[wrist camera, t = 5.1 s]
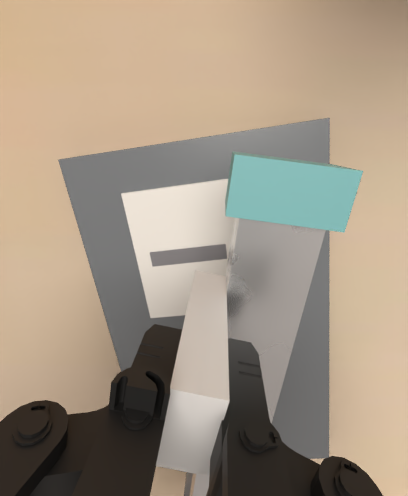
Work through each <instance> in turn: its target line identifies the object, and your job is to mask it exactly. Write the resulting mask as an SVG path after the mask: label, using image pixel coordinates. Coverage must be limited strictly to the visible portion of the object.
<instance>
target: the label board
mask: <svg viewBox="0 0 408 496" xmlns="http://www.w3.org/2000/svg"><path fill="white" fill-rule="evenodd" d="M329 142H330V118H325V119H319V120H312V121H306V122H299V123H293V124H286V125H280V126H273V127H267V128H260V129H254V130H247V131H241V132H234V133H228V134H222V135H215V136H209V137H202V138H196V139H189V140H183V141H176V142H170V143H163V144H157V145H150V146H144V147H137V148H131V149H125V150H118V151H112V152H105V153H99V154H92V155H86V156H79V157H73V158H66V159H60V160H59V164H60V167H61V171H62V174H63V177H64V181H65V184H66V187H67V191H68V194H69V197H70V201H71V204H72V207H73V211H74V214H75V217H76V221H77V224H78V228H79V231H80V234H81V238H82V241H83V244H84V248H85V251H86V254H87V258H88V261H89V264H90V268H91V271H92V275H93V278H94V281H95V285H96V288H97V291H98V295H99V298H100V301H101V305H102V308H103V311H104V315H105V318H106V322H107V325H108V328H109V332H110V335H111V338H112V342H113V345H114V348H115V352H116V355H117V358H118V362H119V365H120V369H121V372H122V371H123V370H125V369H127V368H131V366H132V363H133V361H134V358H135V356H136V354H137V351H138V349H139V346H140V344H141V341H142V339H143V336H144V334H145V332H146V331H147V330H148V329H149V328H151V327H152V326H153V325H154V324H158V325H162V326H167V327H172V328H177V329H183V324H184V320H185V315H186V310H187V306H188V301H189V296H190V292H191V287H192V282H193V278H194V273H195V270H197V271H202V272H207V273H211V274H216V275H221V276H225V273H226V267H227V261H228V255H229V249H230V243H231V236H232V230H233V224H234V217H227V216H225V198H226V191H227V185H228V178H229V171H230V164H231V158H232V151H233V152H241V153H249V154H257V155H264V156H272V157H280V158H287V159H295V160H303V161H310V162H318V163H326V164H329ZM272 425H273V426H274V427H275V429H276V430H277V431H278V432H279V435H280V437H281V440H282V442H283V443H285V444H286V445H287V446H288V447H289V448H291V449H292V450H294V451H295V452H297V453H299V454H300V455H302V456H304V457H306V458H308V459H316V458H328V457H329V230H326V231H325V235H324V238H323V242H322V245H321V249H320V253H319V256H318V260H317V263H316V267H315V270H314V274H313V277H312V281H311V285H310V288H309V292H308V295H307V299H306V302H305V306H304V310H303V313H302V317H301V320H300V324H299V327H298V331H297V334H296V338H295V342H294V345H293V349H292V352H291V356H290V359H289V363H288V367H287V370H286V374H285V377H284V381H283V384H282V388H281V392H280V395H279V399H278V402H277V406H276V409H275V413H274V416H273V420H272ZM192 476H193V473H188V472H187V473H186V481H185V490H184V496H189V495H190V489H191V483H192Z"/></svg>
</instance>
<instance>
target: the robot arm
mask: <svg viewBox="0 0 408 496" xmlns="http://www.w3.org/2000/svg"><path fill="white" fill-rule="evenodd" d="M156 466H158V467H163V468H168V469H174V470H179V471H183V472H188V473H193V474H198V475H203V476H207V473H208V470H209V467H210V474H209V488H208V491H207V494H206V496H383V495H382V493H381V492H380V490H379V489H378V487H377V486H376V484H375V483H374V482H373V481H372V479H371V478H370V477H369V475H368V474H367V473H366V472H365V471H363V470H362V469H361V468H360V467H359V466H357V465H356V464H355V463H353V462H351V461H349V460H347V459H345V458H342V457H335V456H331V457H328V458H326V459H324V460H323V462H322V463H321V465H320V464H318V463H316V462H314V461H312V460H310V459H308V458H306V457H304V456H302V455H300V454H299V453H297V452H295V451H294V450H292V449H291V448H289V447H288V446H287V445H286V444H285V443H283V442H282V440H281V437H280V435H279V432H278V431H277V430H276V429H275V427H274V426H273V425H272V423H271V422H270V419H269V413H268V407H267V401H266V395H265V389H264V384H263V378H262V372H261V368H260V360H259V354H258V352H257V351H256V349H255V348H254V346H253V345H252V343H251V342H247V341H242V340H237V339H232V338H228V324H227V296H226V276H221V275H216V274H211V273H207V272H202V271H197V270H195V273H194V278H193V282H192V287H191V292H190V296H189V301H188V306H187V310H186V315H185V320H184V324H183V329H177V328H172V327H167V326H162V325H158V324H154V325H153V326H152V327H151V328H149V329H148V330H147V331H146V332H145V334H144V336H143V339H142V341H141V344H140V346H139V349H138V351H137V354H136V356H135V358H134V361H133V363H132V366H131V368H127V369H125V370H123V371H122V372H120V373H119V374H117V376H116V377H115V378H114V380H113V381H112V382H111V392H110V401H109V405H107V406H106V407H104V408H102V409H99V410H97V411H92V412H88V413H79V414H70V415H67V413H66V410H65V409H64V408H63V407H62V406H61V405H59V404H58V403H56V402H52V401H47V400H45V401H34V402H31V403H28V404H26V405H23V406H20V407H19V408H17V409H16V410H15V411H13V412H12V413H10V414H9V415H7V416H6V417H5V418H4V419H3V420H2V421H1V422H0V496H150V492H151V487H152V482H153V477H154V472H155V467H156Z"/></svg>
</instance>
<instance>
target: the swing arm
mask: <svg viewBox="0 0 408 496" xmlns="http://www.w3.org/2000/svg"><path fill="white" fill-rule="evenodd" d="M362 173H363V171H360V170H356V169H351V168H346V167H341V166H337V165H332V164H326V163H318V162H310V161H303V160H295V159H287V158H280V157H272V156H264V155H257V154H249V153H241V152H233V151H232V158H231V164H230V171H229V178H228V185H227V191H226V198H225V216H227V217H234V224H233V230H232V236H231V243H230V249H229V255H228V261H227V267H226V273H225V276H226V296H227V324H228V338H232V339H237V340H242V341H247V342H251V343H252V345H253V346H254V348H255V349H256V351H257V352H258V354H259V360H260V368H261V372H262V378H263V384H264V389H265V395H266V401H267V407H268V413H269V419H270V422H271V423H272V420H273V416H274V413H275V409H276V406H277V402H278V399H279V395H280V392H281V388H282V384H283V381H284V377H285V374H286V370H287V367H288V363H289V359H290V356H291V352H292V349H293V345H294V342H295V338H296V334H297V331H298V327H299V324H300V320H301V317H302V313H303V310H304V306H305V302H306V299H307V295H308V292H309V288H310V285H311V281H312V277H313V274H314V270H315V267H316V263H317V260H318V256H319V253H320V249H321V245H322V242H323V238H324V235H325V231H326V230H330V231H338V232H345V229H346V225H347V222H348V219H349V216H350V212H351V209H352V206H353V202H354V199H355V196H356V193H357V189H358V186H359V183H360V179H361V176H362ZM209 474H210V467H209V470H208V473H207V476H203V475H198V474H193V476H192V483H191V489H190V495H189V496H206V494H207V491H208V488H209Z"/></svg>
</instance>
